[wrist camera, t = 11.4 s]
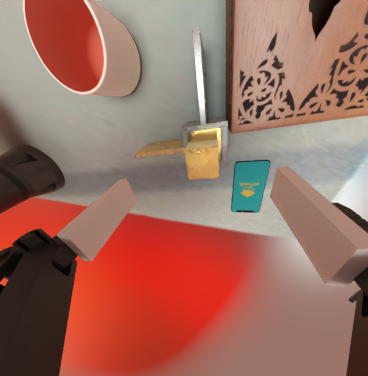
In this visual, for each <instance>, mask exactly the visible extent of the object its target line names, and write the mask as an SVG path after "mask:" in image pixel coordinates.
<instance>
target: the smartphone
mask: <svg viewBox="0 0 368 376" xmlns="http://www.w3.org/2000/svg"><path fill="white" fill-rule="evenodd" d="M269 167H270V161H269V160H257V161H239V162H236V163H235V169H234V182H233V194H232V206H231V210H232V211H233V212H252V213H257V212H259V210H260V206H261V202H262V197H263V193H264V189H265V185H266V180H267V176H268V172H269Z"/></svg>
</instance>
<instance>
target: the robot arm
mask: <svg viewBox="0 0 368 376" xmlns="http://www.w3.org/2000/svg"><path fill="white" fill-rule="evenodd" d="M63 185H64V177H63V175H62V173H61V171H60V169H59V168H58V166H57V165H56V164H55V163H54V162H53V161H52V160H51V159H50V158H49V157H48V156H46V155H45V154H44V153H42V152H41V151H39V150H37V149H35V148H33V147H30V146H20V147H15V148H12V149H10V150H8V151H7V152H5V153H3V154H2V155H0V214H1V213H2V212H4V211H6V210H8V209H10V208H12V207H14V206H16V205H17V204H19V203H21V202H23V201H25V200H27V199H29V198H31V197H35V196H39V195H43V194H47V193H51V192H54V191H56V190H58V189H60V188H62V187H63ZM270 197H271V199H272V200H273V202H274V204H275V205H276V207H277V208H278V210H279V211H280V213H281V215H282V216H283V218H284V219H285V221H286V223H287V224H288V226H289V227H290V229H291V231H292V232H293V234H294V235H295V237H296V238H297V240H298V242H299V243H300V245H301V246H302V248H303V250H304V251H305V253H306V254H307V256H308V257H309V259H310V261H311V262H312V264H313V265H314V267H315V269H316V270H317V272H318V273H319V275H320V277H321V278H322V280H323V281H324V283H325V284H326V285H336V286H348V285H349V284H350V283H351V282H352V281H353V280H354V281H355V282H356V283H357V284H358V286H359V287H360V288H361V290H359V291H358V292H357V293H355V294H354V295H353V296H351V297H350V299H349V301H350V302H352V303H353V302H354V301H356V300H357V302H356V309H355V316H354V324H353V331H352V338H351V346H350V353H349V360H348V368H347V375H346V376H368V222H367V221H366V220H364V219H362V218H361V217H360V216H359V215H358V214H356V213H355V212H354V211H353V210H351V209H349V208H347V207H345V206H343V205H341V204H339V203H331V202H330V201H328V200H327V199H326V198H325V197H324V196H323V195H321V194H320V193H319V192H318V191H317V190H315V189H314V188H313V187H312V186H311V185H309V184H308V183H307V182H306V181H305V180H303V179H302V178H301V177H300V176H299V175H297V174H296V173H295V172H294V171H293V170H292V169H290V168H289V167H281V168H277V170H276V174H275V178H274V183H273V187H272V191H271V196H270ZM136 201H137V200H136V198H135V196H134V194H133V191H132V189H131V187H130V185H129V182H128V180H127V179H120V180H119V181H118V182H116V183H115V184H114V185H113V186H112V187H111V188H110V189H108V190H107V191H106V192H105V193H104V194H103V195H101V196H100V197H99V198H98V199H97V200H96V201H95V202H93V203H92V204H91V205H90V206H89V207H88V208H86V209H85V210H84V211H83V212H82V213H81V214H80V215H78V216H77V217H76V218H75V219H74V220H73V221H72V222H70V223H69V224H68V225H67V226H66V227H65V228H63V229H62V230H61V231H60V232H59V233H58V234H57V235H56V236H55V237H54V238H51V237H50V236H49V235H47V234H46V233H45V232H44V231H43V230H42V229H36V230H33V231H30V232H28V233H26V234H25V235H23V236H21V237H20V238H19V239H17V240H16V241H15V242H14V243H13V244H12V245H14V246H12V247H9V248H6V249H4V250H2V251H0V281H1V280H2V279H3V278H6V279H8V282H7V284H6V285H5V286H3V285H1V284H0V376H59V372H60V366H61V359H62V353H63V347H64V340H65V334H66V328H67V321H68V316H69V310H70V303H71V297H72V291H73V285H74V279H75V272H76V266H77V261H76V260H75V258H76V257H77V256H79V257H80V258H81V259H82V260H84V261H92V260H93V259H94V257H95V256H96V255H97V253H98V252H99V251H100V249H101V248H102V246H103V245H104V244H105V243H106V241H107V240H108V239H109V237H110V236H111V235H112V233H113V232H114V230H115V229H116V228H117V226H118V225H119V224H120V222H121V221H122V220H123V218H124V217H125V216H126V214H127V213H128V212H129V210H130V209H131V208H132V206H133V205H134V204H135V202H136Z"/></svg>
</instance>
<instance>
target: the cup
mask: <svg viewBox="0 0 368 376" xmlns="http://www.w3.org/2000/svg"><path fill="white" fill-rule="evenodd" d="M23 12H24V19H25V23H26V27H27V31H28V34H29V37H30V40H31V42H32V44H33V47H34V49H35V51H36V53H37V55H38V57H39V58H40V60H41V62H42V63H43V65H44V66H45V67H46V69H47V70H48V71H49V73H50V74H51V75H52V76H53V77H54V78H55V79H56V80H57V81H58V82H59V83H60V84H61V85H63V86H64V87H65V88H67V89H68V90H70V91H72V92H74V93H77V94H81V95H98V96H118V97H121V96H126V95H128V94H130V93H131V92H132V91H133V90H134V89H135V88H136V86H137V84H138V81H139V77H140V58H139V53H138V50H137V47H136V44H135V42H134V40H133V38H132V36H131V35H130V33H129V32H128V31H127V29H126V28H125V27H124V26H123V25H122V24H121V23H120V22H119V21H118V20H117V19H115V18H114V17H113V16H112V15H111V14H110V13H108V12H107V11H106V10H105V9H104V8H103V7H101V6H100V5H99V4H98V3H97V2H95V1H94V0H23Z"/></svg>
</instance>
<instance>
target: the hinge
mask: <svg viewBox="0 0 368 376" xmlns="http://www.w3.org/2000/svg"><path fill="white" fill-rule="evenodd" d="M192 31H193V43H194V54H195V65H196V77H197V88H198V100H199V111H200V120H199V121H193V122H188V123H186V124H185V125H184V126H183V127H182V128H181V132H182V138H183V140H175V141H168V142H160V143H152V144H148V145H146V146H145V147H143V148H142V149H140V150H139V151H137V152H136V153H134V156H135V158H137V157H147V156H156V155H166V154H175V153H184V150H185V148H186V146H187V145H188V143H189V141H190V140H191V138H192V136H193V135H194V133H196V132H203V131H210V130H216V131H217V141H218V159H219V167H220V166H227V147H228V120H227V119H226V118H225V116H224V117H218V118H212V119H208V118H207V101H206V86H205V76H206V71H205V66H204V53H203V45H202V39H201V34H200V29H199V28H198V29H195V30H192Z"/></svg>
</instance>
